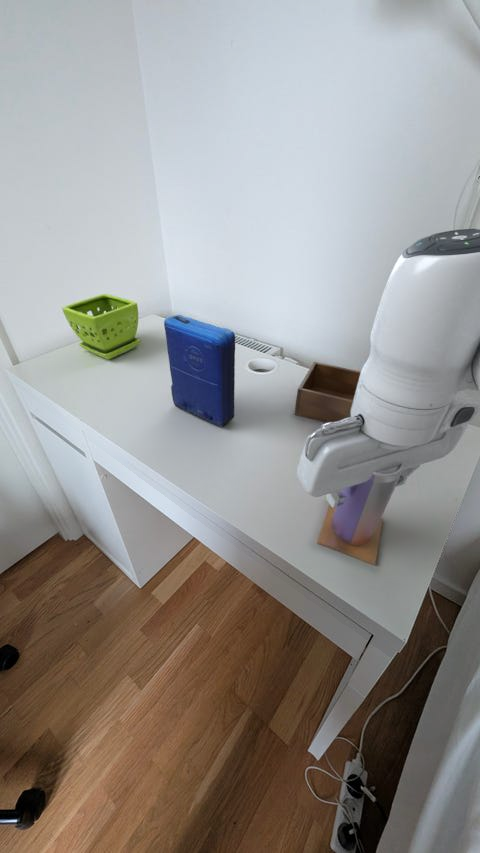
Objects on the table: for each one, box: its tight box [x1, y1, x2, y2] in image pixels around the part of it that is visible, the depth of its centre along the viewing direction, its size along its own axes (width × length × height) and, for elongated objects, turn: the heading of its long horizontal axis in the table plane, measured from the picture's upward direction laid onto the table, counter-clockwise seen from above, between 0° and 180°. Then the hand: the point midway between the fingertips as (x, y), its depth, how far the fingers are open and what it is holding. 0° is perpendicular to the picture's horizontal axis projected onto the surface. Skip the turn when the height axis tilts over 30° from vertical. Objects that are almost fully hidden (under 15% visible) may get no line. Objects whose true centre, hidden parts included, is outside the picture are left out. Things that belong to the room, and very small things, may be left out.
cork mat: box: [316, 503, 383, 566], centre depth 50 cm, size 8×8×1 cm
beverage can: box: [332, 463, 403, 545], centre depth 45 cm, size 6×6×15 cm
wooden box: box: [294, 361, 361, 424], centre depth 72 cm, size 12×12×6 cm
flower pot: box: [61, 293, 141, 360], centre depth 91 cm, size 14×14×13 cm
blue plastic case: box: [163, 314, 236, 428], centre depth 66 cm, size 14×5×20 cm, turn 55°
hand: (365, 492), depth 44 cm, fingers open, 8 cm apart
